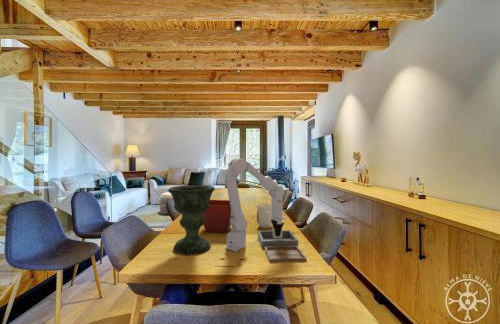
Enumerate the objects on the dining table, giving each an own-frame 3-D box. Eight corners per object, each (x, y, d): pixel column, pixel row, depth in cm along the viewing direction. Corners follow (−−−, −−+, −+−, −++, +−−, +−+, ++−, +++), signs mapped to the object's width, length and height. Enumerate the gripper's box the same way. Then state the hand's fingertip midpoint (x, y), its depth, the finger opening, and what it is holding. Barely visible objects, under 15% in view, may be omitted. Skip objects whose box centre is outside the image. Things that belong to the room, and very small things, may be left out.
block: (282, 237, 141) (282, 229, 141) (273, 238, 141) (273, 229, 140) (280, 235, 145) (280, 226, 145) (272, 235, 145) (272, 227, 145)
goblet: (222, 244, 141) (222, 186, 140) (199, 259, 120) (198, 191, 119) (187, 239, 149) (186, 184, 149) (158, 252, 128) (158, 189, 128)
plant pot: (236, 226, 177) (236, 200, 177) (231, 234, 158) (231, 205, 158) (207, 225, 179) (207, 199, 179) (198, 233, 160) (198, 204, 160)
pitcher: (259, 231, 165) (259, 208, 165) (254, 223, 183) (254, 203, 182) (277, 230, 167) (277, 208, 166) (270, 223, 184) (270, 202, 184)
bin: (298, 248, 135) (298, 240, 135) (261, 249, 133) (261, 241, 133) (290, 237, 153) (290, 230, 153) (257, 238, 151) (257, 230, 151)
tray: (306, 262, 117) (306, 258, 117) (269, 264, 116) (269, 259, 115) (297, 249, 133) (297, 245, 133) (264, 250, 131) (264, 246, 131)
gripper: (287, 211, 136) (287, 238, 136) (281, 205, 150) (281, 230, 150) (273, 211, 135) (273, 238, 135) (269, 206, 150) (269, 230, 150)
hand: (276, 234), depth 143 cm, fingers closed on block, 4 cm apart
